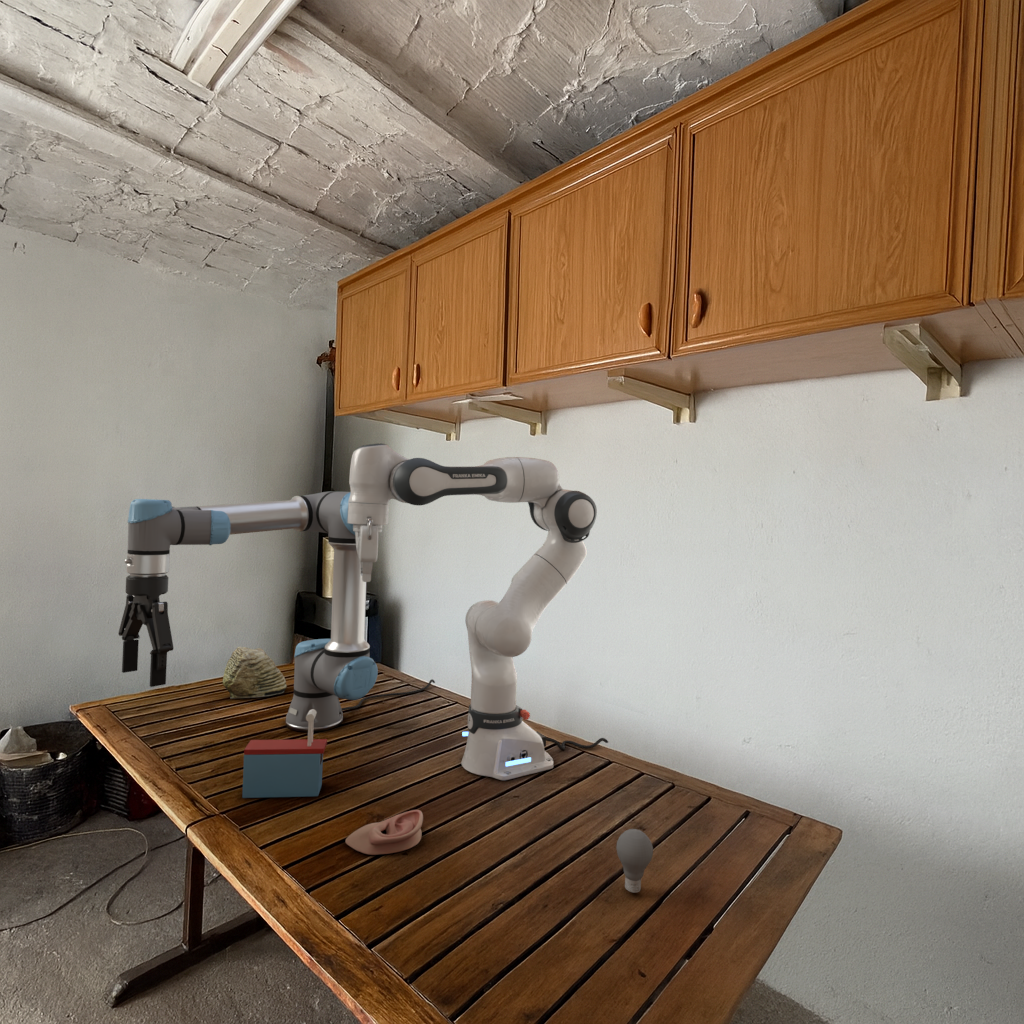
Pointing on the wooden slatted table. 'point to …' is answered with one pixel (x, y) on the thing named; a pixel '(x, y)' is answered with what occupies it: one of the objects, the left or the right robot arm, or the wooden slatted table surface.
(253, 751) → the lid
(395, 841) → the anatomical model
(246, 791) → the chest
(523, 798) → the wooden slatted table surface
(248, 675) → the fossil
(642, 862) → the light bulb
